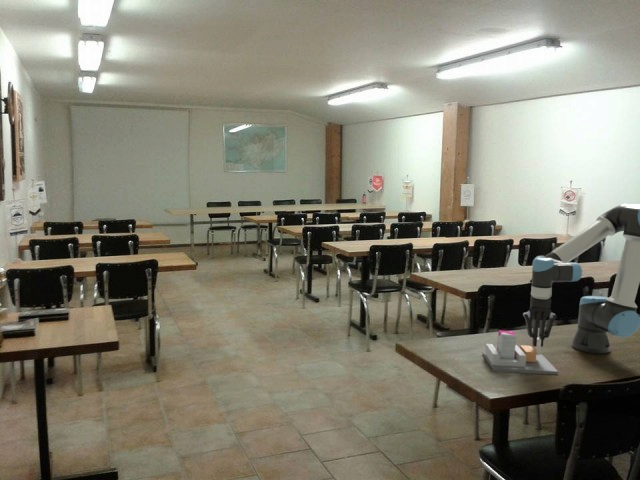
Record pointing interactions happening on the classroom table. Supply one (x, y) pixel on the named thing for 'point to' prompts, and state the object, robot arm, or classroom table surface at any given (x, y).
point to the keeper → (529, 353)
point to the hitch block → (517, 362)
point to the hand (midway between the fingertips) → (537, 353)
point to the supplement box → (506, 344)
